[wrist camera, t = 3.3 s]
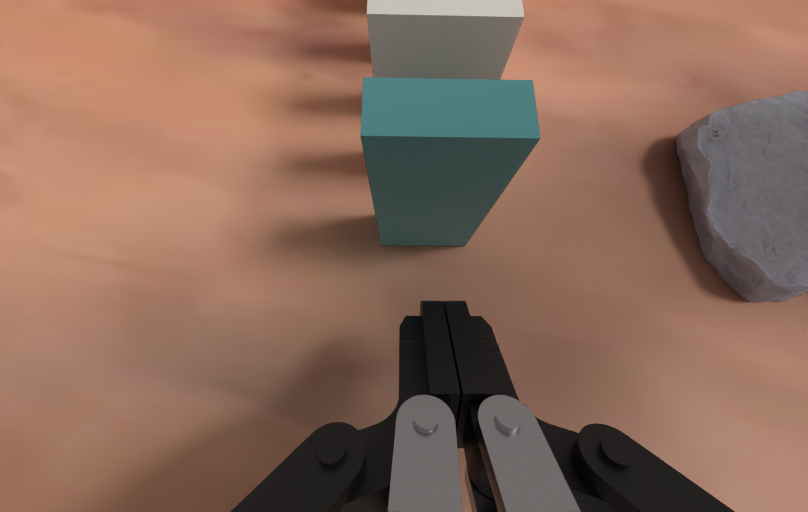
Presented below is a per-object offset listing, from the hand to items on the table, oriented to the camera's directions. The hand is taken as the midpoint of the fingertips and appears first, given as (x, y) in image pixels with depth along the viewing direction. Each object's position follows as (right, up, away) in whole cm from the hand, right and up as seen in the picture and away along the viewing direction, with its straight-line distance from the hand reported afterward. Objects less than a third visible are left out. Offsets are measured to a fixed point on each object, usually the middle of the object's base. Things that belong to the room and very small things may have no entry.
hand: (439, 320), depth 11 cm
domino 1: (0, +8, +9) cm, 12 cm away
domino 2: (0, +4, +8) cm, 9 cm away
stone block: (+20, +5, +9) cm, 23 cm away
